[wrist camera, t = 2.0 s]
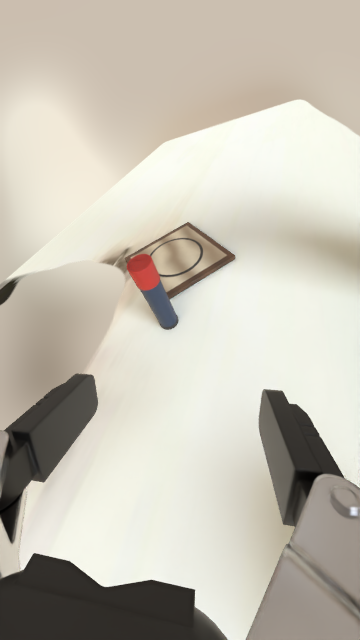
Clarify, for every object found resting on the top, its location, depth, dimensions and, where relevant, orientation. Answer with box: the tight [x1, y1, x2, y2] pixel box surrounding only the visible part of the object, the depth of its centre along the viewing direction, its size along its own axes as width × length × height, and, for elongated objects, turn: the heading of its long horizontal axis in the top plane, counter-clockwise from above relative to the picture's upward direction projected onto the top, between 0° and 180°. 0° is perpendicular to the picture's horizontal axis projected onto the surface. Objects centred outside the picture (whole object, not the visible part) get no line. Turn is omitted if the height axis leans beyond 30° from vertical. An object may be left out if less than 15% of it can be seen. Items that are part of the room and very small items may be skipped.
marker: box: [127, 254, 178, 329], centre depth 28 cm, size 3×3×12 cm
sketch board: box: [125, 222, 235, 299], centre depth 40 cm, size 16×16×1 cm
